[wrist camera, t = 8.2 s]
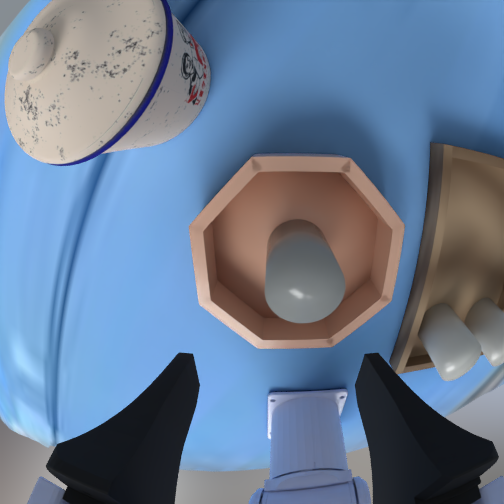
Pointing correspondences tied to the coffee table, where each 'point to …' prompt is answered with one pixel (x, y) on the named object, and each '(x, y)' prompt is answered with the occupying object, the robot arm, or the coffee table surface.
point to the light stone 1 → (448, 342)
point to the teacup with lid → (103, 79)
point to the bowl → (277, 212)
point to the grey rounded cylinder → (302, 273)
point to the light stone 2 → (488, 329)
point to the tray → (455, 245)
